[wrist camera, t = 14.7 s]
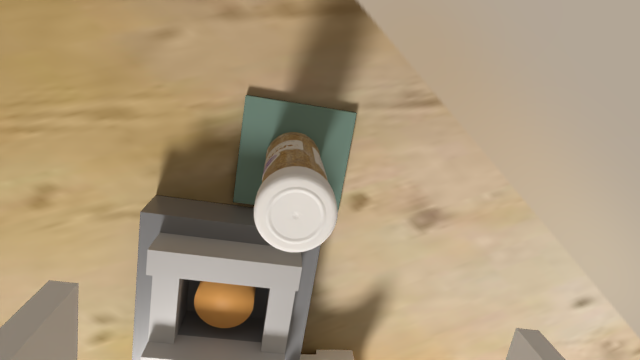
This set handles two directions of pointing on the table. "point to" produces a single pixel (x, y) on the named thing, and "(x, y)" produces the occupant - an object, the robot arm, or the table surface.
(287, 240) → the sprinkles bottle
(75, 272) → the table surface
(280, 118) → the mat
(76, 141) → the table surface
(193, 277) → the grey square holder
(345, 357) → the bracket
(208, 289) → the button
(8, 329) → the robot arm
